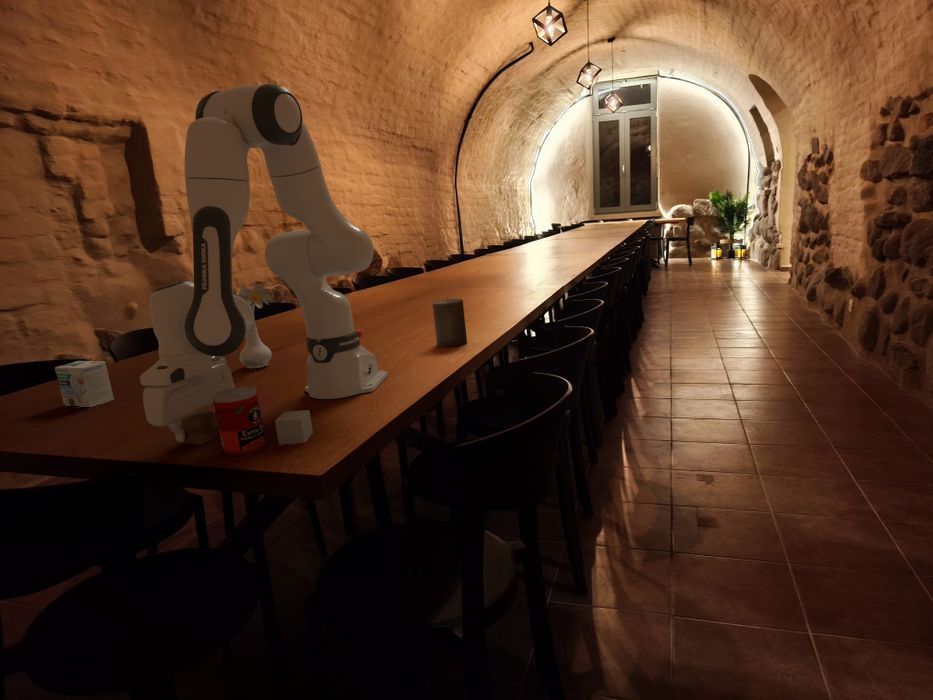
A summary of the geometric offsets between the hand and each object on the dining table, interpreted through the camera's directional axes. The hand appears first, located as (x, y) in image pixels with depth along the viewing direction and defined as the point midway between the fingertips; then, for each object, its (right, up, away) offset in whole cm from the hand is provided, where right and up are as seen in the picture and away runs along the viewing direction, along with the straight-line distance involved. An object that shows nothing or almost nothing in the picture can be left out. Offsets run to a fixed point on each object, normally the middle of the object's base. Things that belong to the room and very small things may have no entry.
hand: (200, 431), depth 117 cm
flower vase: (-11, +11, +59) cm, 61 cm away
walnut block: (0, -2, 0) cm, 2 cm away
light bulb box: (-45, +2, +35) cm, 57 cm away
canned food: (+11, -2, -7) cm, 13 cm away
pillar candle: (+49, +18, +67) cm, 85 cm away
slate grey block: (+21, -1, -5) cm, 21 cm away
